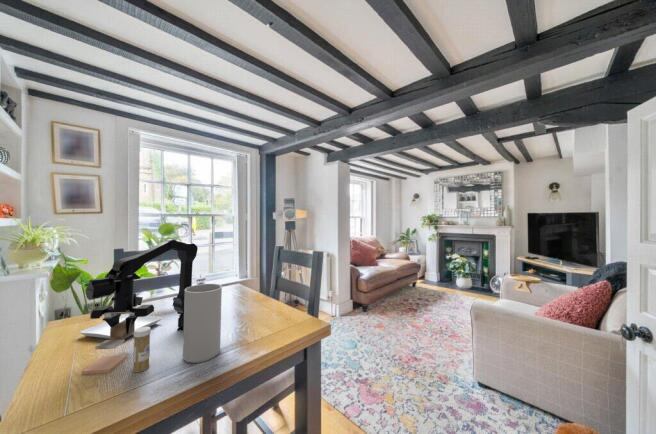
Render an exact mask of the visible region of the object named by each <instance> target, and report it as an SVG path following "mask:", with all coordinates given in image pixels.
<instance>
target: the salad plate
mask: <svg viewBox="0 0 656 434" xmlns="http://www.w3.org/2000/svg"><path fill="white" fill-rule="evenodd" d="M127 317H129V314H122V315H121V316H120V318H119V323H120V322H122V321H123V320H126V318H127ZM162 319H163V317H161V316H153V315H147V316H145V317H137V319H136V321H135V328H134V330H136V329H137V328H140V327H150V328H151V327H152V326H155V325H157V323H159V322H160V321H161V320H162ZM110 328H111V327H110V326H109V325H108V324H107V322H106V321H104V322H102V323H98V324H96V325H94V326H93V325H92V326H91V327H89V328H85V329H83V330H80V331H79V333H80V334H81V335H83V336H86V337H95V338H99V339H101V338H102V339H106V340H110ZM130 336H134V333H132V334H131V335H129V336H128V337H130Z"/></svg>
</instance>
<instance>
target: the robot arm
mask: <svg viewBox="0 0 656 434" xmlns="http://www.w3.org/2000/svg"><path fill="white" fill-rule="evenodd" d="M198 249H199V248H198V245H197V244H195V243H193V242H192V243H191V242H183V241H178V240H176V239H170V238H169V239H165V240H164V241H162V242H160V243H158V244H156V245H154V246H152V247H150V248H148V249H146V250H144V251H141V252H140V253H137V254H135V255H130V256H126V257H123V258H120V259H117V260H115V261H114V262H113V264H112V267H111V269H110V270H109V271H108V272H107V273H106V275H105V276H104V278H92V279H89V281H88V284H87V285H86V288H85V296H86V298H87V300H89V301H92V300H96V299H101V298H107V297H111V296H112V295H113V294H114V295H113V297H111V302H113V306H112V305H103V306H99V307H97V308H95V309H93V310H92V311H91V312H90V315H89V316H90V317H89V319H91V320H96V319H101V317H103V318H102V322H103V321H104V322H107V324H108V325H109V326H110V327H111V328H112V327H113V326H115V325H117V324H118V323H119V318H120V316H122V315H125V314H129V317H127V318H126V332H127V334H129V333H130V332H131V329H132V327H133V325H134V322H135V321H136V319H137V317H145V316H150V314H152V313H153V312H155V306H154V305H153V304H142V303H143V296H137V293H135V292H134V289H135V281H136V280H140V279H141V276H139V275H138V274H137V273H136V272H138V271H139V270H140V269H142V267H143V266H144V265H145V264H147V263H148V262H150V261H152V260H154V259H156V258H157V257H158V258H159V257H160V256H161V255H163V254H166V253H168V251H171V250H172V251H176V252H177V257H178V260H179V261H180V270H179V284H178V286H179V287H178V294H177V295H176V296H174V297H172V300H173V301H172V307H173V310H175V311H176V312H177V314H178V315H179V316H178V318H177V331H184V298H185V289H186V288H187V287H190V286H192V280H193V279H192V278H193V262H194V261H195V259H196V258H197V255H198ZM137 306H138V307H137Z"/></svg>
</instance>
